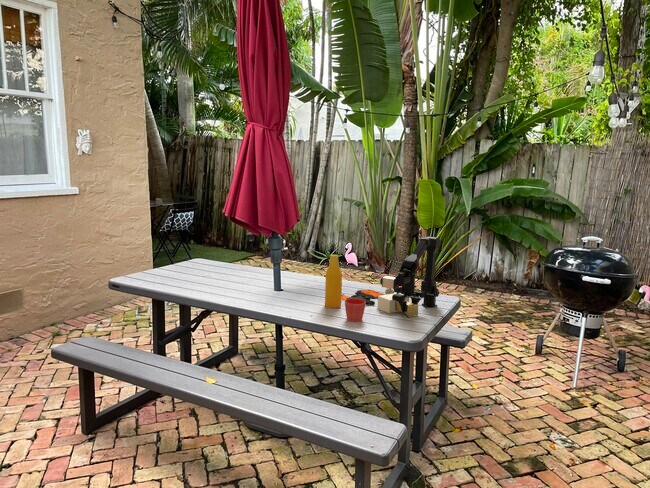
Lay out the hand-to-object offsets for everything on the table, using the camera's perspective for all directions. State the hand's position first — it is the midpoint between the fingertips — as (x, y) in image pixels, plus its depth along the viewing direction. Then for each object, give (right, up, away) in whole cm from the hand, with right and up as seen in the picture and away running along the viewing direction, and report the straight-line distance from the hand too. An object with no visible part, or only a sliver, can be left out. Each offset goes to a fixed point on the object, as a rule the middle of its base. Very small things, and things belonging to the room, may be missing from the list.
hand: (407, 311), depth 248 cm
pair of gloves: (-20, +3, +31) cm, 37 cm away
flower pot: (-29, -3, -10) cm, 31 cm away
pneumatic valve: (-4, +4, +41) cm, 42 cm away
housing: (-6, 0, +10) cm, 12 cm away
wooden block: (-2, -1, +4) cm, 5 cm away
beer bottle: (-40, +1, +14) cm, 42 cm away
